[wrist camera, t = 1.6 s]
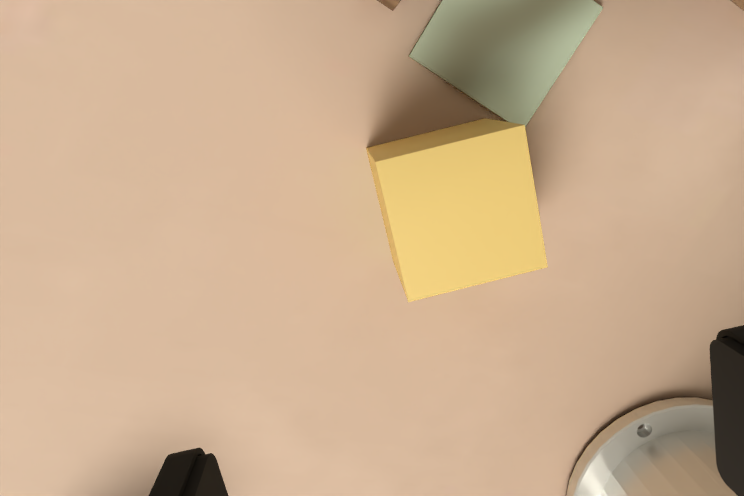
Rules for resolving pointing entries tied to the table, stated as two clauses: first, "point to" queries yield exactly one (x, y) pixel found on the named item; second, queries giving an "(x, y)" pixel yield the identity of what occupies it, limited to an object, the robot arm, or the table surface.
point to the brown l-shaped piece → (504, 48)
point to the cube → (459, 206)
